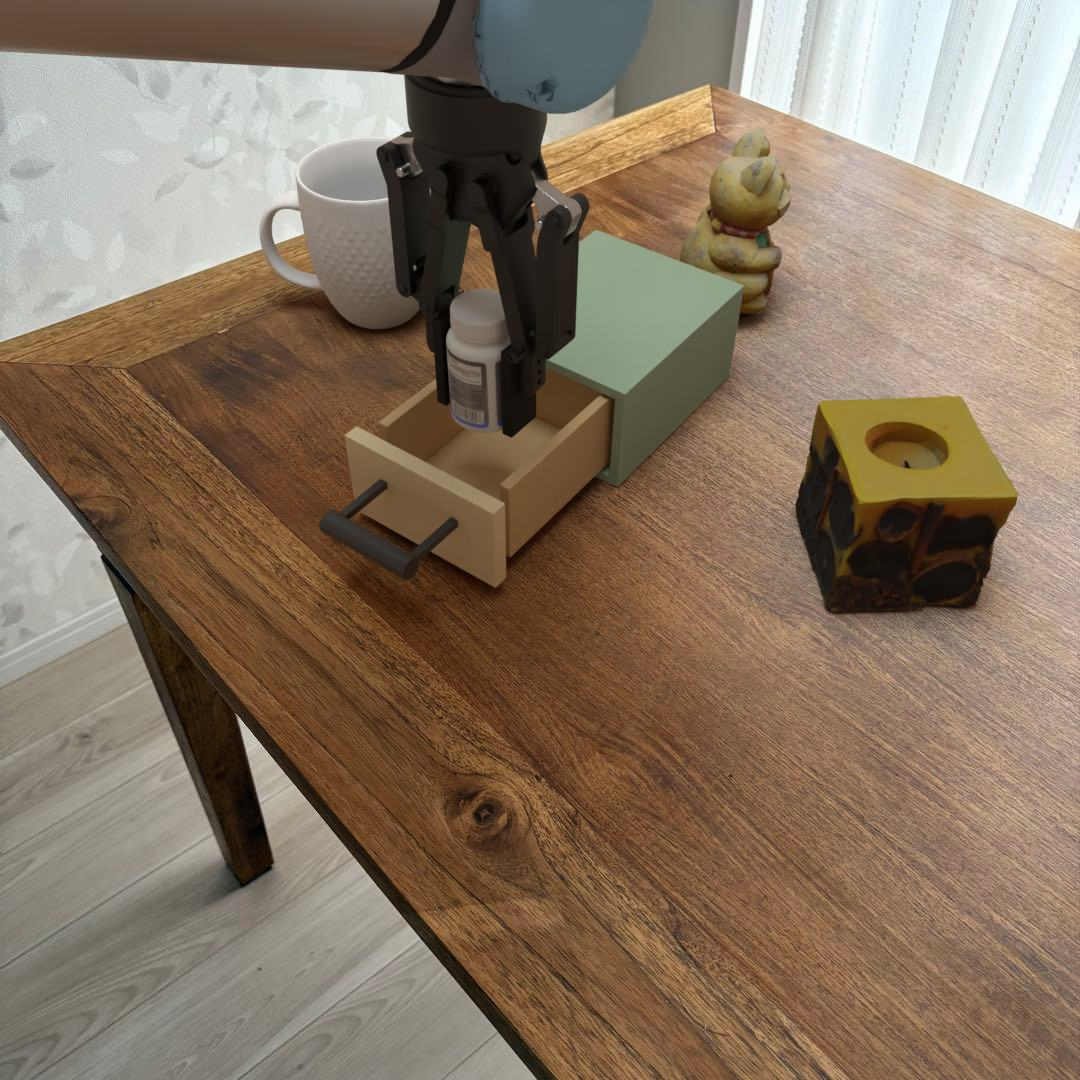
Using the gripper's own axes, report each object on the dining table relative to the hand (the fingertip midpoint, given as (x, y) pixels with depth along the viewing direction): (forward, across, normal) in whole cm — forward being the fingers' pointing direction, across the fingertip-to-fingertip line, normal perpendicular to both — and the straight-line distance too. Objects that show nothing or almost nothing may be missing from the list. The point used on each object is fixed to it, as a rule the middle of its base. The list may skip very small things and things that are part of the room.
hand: (486, 408), depth 74 cm
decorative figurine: (+8, -1, -32) cm, 33 cm away
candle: (+8, -25, -11) cm, 29 cm away
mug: (+8, +23, -13) cm, 28 cm away
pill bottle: (+1, 0, 0) cm, 1 cm away
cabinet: (+8, 0, -15) cm, 17 cm away
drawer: (+7, 0, +2) cm, 8 cm away
